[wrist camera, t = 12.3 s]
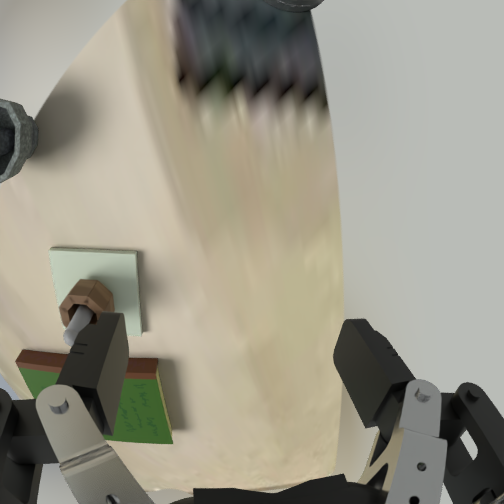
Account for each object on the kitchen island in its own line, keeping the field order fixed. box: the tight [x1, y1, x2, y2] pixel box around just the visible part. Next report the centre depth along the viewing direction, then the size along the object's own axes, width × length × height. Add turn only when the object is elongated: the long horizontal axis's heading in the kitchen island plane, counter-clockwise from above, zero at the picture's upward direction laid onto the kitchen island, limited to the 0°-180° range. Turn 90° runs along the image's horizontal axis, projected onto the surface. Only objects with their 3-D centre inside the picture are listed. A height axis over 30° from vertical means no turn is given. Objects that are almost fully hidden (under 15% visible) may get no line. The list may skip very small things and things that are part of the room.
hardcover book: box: [15, 350, 173, 444], centre depth 43 cm, size 25×19×4 cm
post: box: [48, 248, 143, 346], centre depth 32 cm, size 12×12×11 cm
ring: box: [59, 279, 115, 328], centre depth 33 cm, size 6×6×4 cm
